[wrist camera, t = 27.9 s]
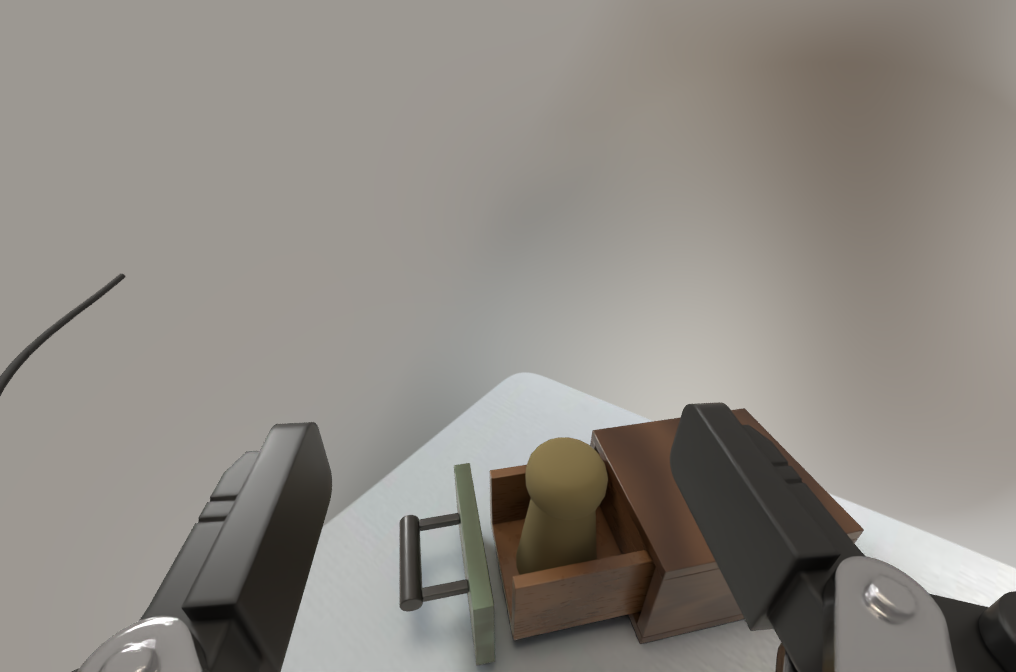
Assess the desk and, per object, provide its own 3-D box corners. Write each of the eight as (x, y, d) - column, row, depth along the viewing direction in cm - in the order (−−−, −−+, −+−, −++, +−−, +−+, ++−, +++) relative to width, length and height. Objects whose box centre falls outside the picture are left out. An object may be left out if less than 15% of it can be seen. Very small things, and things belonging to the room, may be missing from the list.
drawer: (408, 682, 28) (393, 627, 24) (406, 531, 36) (395, 473, 33) (657, 623, 30) (678, 567, 27) (599, 497, 39) (610, 441, 36)
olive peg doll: (502, 543, 34) (502, 441, 28) (567, 513, 37) (580, 412, 31) (542, 618, 30) (552, 515, 24) (613, 578, 32) (639, 474, 26)
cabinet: (640, 644, 30) (665, 572, 26) (581, 501, 40) (592, 429, 35) (812, 602, 33) (864, 529, 28) (717, 477, 42) (744, 407, 38)
